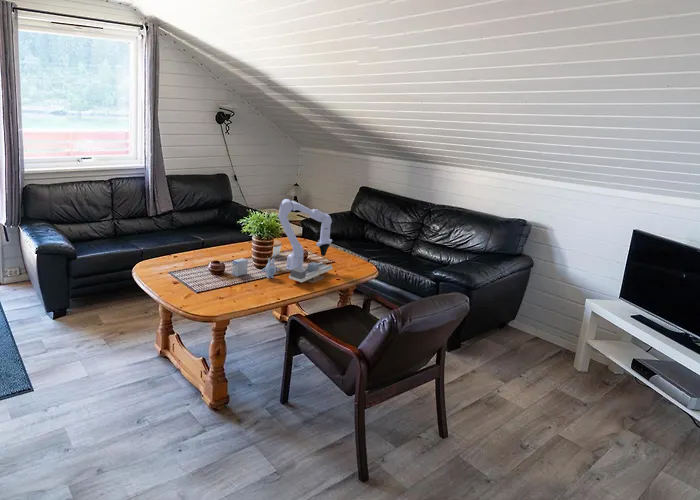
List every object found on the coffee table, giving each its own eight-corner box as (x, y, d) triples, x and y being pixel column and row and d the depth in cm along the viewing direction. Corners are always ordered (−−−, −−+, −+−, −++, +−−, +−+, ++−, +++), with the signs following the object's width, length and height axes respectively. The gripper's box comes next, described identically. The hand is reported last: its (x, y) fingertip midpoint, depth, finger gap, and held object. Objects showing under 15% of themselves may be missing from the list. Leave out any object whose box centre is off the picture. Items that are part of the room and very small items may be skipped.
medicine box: (241, 271, 302) (242, 257, 299) (247, 273, 299) (248, 259, 297) (231, 274, 295) (232, 260, 293) (237, 276, 293) (237, 262, 290)
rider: (307, 270, 302) (308, 263, 301) (312, 268, 306) (312, 262, 305) (313, 272, 300) (314, 265, 299) (318, 270, 304) (319, 263, 303)
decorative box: (270, 259, 328) (271, 243, 325) (257, 254, 335) (258, 238, 332) (284, 256, 338) (285, 240, 334) (271, 251, 345) (272, 235, 341)
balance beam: (287, 282, 292) (288, 268, 290) (318, 269, 319) (319, 256, 316) (302, 287, 287) (303, 273, 284) (333, 274, 314) (334, 261, 311)
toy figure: (262, 280, 291) (263, 260, 288) (259, 276, 297) (260, 256, 293) (280, 279, 296) (281, 259, 293) (277, 275, 302) (278, 256, 298)
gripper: (324, 237, 303) (322, 259, 307) (337, 233, 315) (334, 254, 319) (314, 235, 306) (312, 256, 310) (327, 231, 318) (325, 251, 322)
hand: (323, 255), depth 315 cm, fingers closed
